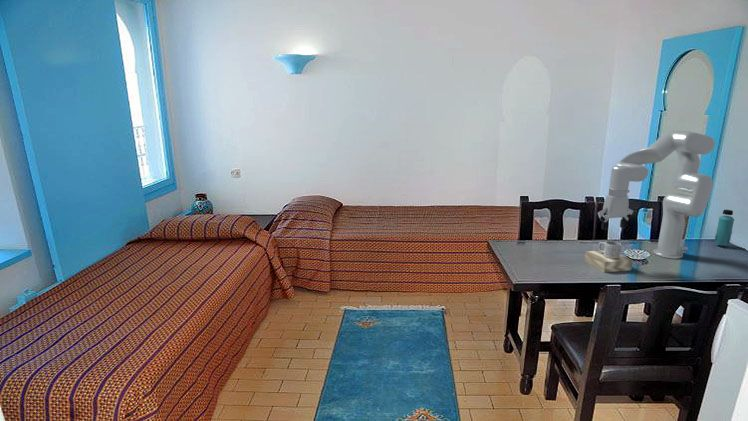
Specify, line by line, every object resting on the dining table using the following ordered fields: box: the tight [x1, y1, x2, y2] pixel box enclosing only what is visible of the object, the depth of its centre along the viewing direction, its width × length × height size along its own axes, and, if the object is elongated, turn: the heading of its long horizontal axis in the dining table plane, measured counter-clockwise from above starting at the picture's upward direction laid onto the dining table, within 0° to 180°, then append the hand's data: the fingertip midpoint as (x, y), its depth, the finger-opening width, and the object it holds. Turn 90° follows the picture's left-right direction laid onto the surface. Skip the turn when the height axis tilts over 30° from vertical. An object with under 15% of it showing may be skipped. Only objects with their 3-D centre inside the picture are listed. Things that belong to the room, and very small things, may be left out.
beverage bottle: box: [714, 209, 735, 247], centre depth 228 cm, size 6×7×20 cm
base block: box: [584, 250, 633, 273], centre depth 204 cm, size 14×14×5 cm
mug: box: [598, 240, 622, 259], centre depth 202 cm, size 10×7×7 cm
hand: (613, 228), depth 200 cm, fingers open, 9 cm apart
